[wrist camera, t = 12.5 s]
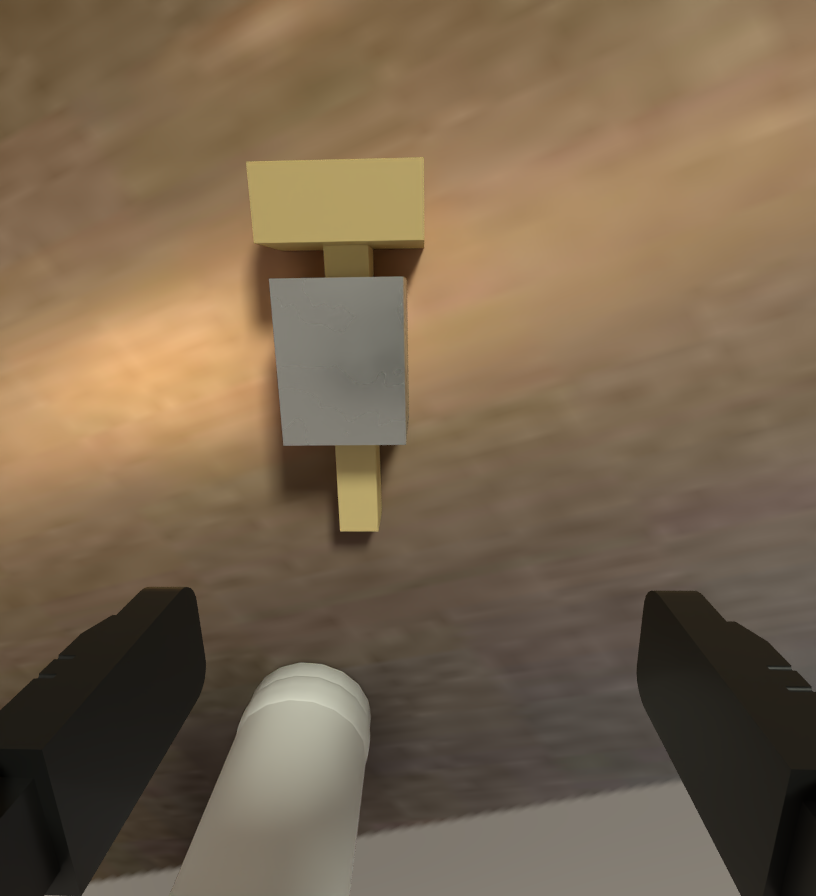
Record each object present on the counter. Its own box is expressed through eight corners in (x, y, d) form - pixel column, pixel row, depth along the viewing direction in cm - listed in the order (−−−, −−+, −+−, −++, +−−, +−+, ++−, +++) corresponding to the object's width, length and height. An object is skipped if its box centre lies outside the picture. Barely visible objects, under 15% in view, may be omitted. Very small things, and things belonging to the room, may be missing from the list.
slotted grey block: (406, 279, 26) (403, 276, 21) (409, 415, 28) (405, 444, 23) (299, 281, 26) (268, 278, 21) (309, 416, 28) (283, 445, 23)
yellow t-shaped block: (423, 180, 25) (423, 157, 20) (425, 511, 30) (426, 549, 25) (276, 183, 25) (246, 161, 21) (303, 512, 30) (283, 549, 26)
